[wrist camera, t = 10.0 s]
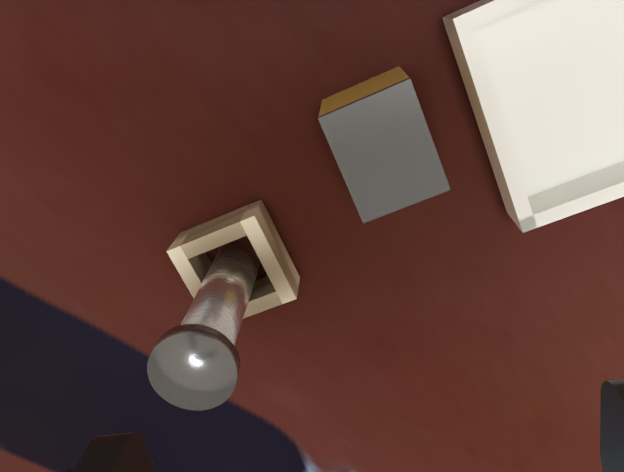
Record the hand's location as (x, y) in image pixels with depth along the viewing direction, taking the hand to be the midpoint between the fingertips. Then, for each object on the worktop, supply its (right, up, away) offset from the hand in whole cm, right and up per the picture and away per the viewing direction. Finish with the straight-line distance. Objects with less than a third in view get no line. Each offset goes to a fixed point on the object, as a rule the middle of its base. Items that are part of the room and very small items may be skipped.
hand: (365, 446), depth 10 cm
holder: (-5, +3, +21) cm, 22 cm away
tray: (+11, +11, +17) cm, 23 cm away
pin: (-5, +3, +21) cm, 22 cm away
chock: (+2, +9, +18) cm, 20 cm away
